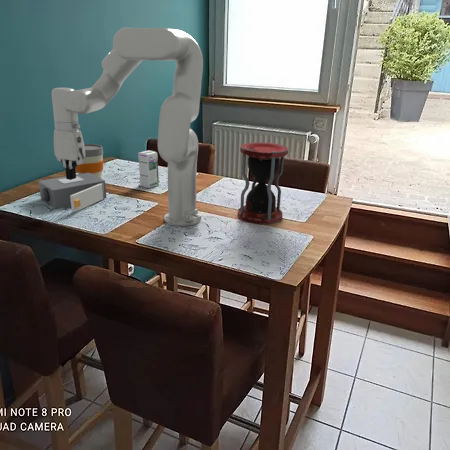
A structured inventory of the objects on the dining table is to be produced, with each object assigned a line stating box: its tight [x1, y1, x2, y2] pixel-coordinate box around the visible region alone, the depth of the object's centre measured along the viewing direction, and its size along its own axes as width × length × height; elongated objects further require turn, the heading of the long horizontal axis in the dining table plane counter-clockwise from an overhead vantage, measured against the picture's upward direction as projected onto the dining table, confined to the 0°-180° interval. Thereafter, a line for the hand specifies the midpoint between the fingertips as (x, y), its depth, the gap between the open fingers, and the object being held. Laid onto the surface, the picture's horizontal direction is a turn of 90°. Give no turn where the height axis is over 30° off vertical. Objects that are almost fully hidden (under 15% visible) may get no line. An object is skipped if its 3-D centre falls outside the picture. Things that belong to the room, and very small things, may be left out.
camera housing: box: [38, 173, 107, 210], centre depth 164 cm, size 14×21×7 cm, turn 132°
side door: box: [70, 183, 105, 213], centre depth 157 cm, size 2×17×6 cm, turn 157°
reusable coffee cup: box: [76, 143, 104, 179], centre depth 184 cm, size 13×13×15 cm
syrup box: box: [137, 149, 160, 189], centre depth 181 cm, size 6×6×14 cm
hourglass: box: [237, 141, 289, 225], centre depth 149 cm, size 16×16×25 cm
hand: (71, 178), depth 152 cm, fingers closed
